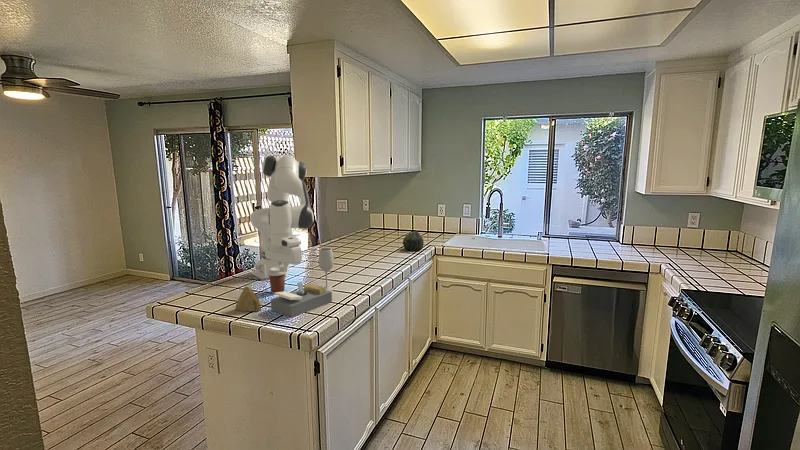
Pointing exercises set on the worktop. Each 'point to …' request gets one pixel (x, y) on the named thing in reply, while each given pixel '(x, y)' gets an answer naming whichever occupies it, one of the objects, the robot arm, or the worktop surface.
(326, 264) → the wineglass
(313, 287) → the gold rectangular block
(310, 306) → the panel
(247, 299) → the rock
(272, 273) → the coffee cup
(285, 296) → the white slab
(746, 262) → the worktop surface
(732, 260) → the worktop surface
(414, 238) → the squash
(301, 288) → the paddle
